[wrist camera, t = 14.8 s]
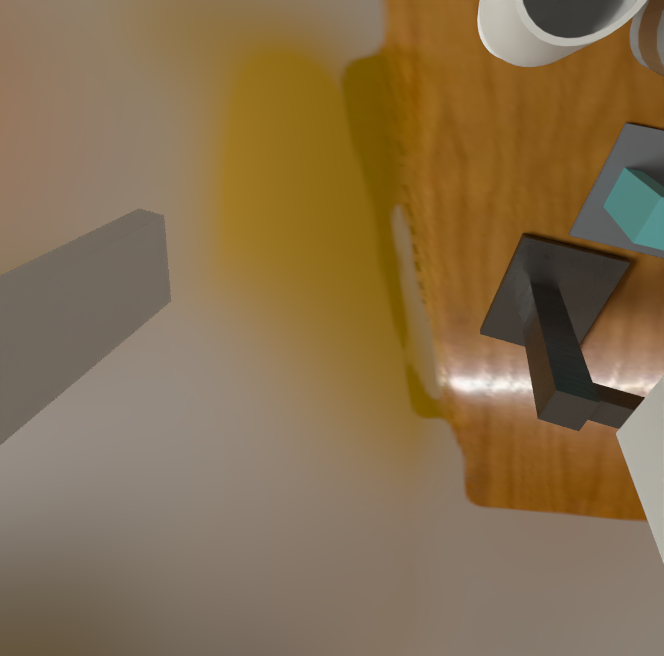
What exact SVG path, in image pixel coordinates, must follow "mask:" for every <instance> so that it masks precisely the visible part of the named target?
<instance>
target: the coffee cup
mask: <svg viewBox="0 0 664 656" xmlns="http://www.w3.org/2000/svg"><path fill="white" fill-rule="evenodd" d="M630 46H631V49H632V52H633V55H634V56H635V58H636V59H637V60H638V61H639V63H640V64H642V65H644V66H645V67H647V68H649V69H651V70H653V71H655V72H656V73H658V74H659V75H662V76H664V0H647V1H646V2H645V4H644V5H643V6H642V7H641V8H640V10H639V11H638V12H637V13H636V14H635V15H634V17H633V20H632V25H631V29H630Z"/></svg>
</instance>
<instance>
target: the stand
mask: <svg viewBox="0 0 664 656" xmlns="http://www.w3.org/2000/svg"><path fill="white" fill-rule="evenodd" d="M629 265H630V262H629V260H628V259H626V258H622V257H618V256H613V255H609V254H605V253H601V252H597V251H593V250H589V249H585V248H581V247H577V246H573V245H569V244H564V243H560V242H556V241H552V240H548V239H544V238H540V237H536V236H532V235H528V234H524V233H523V234H522V236H521V239H520V241H519V243H518V245H517V248H516V250H515V252H514V254H513V257H512V259H511V261H510V263H509V266H508V268H507V270H506V272H505V275H504V277H503V279H502V281H501V284H500V286H499V288H498V290H497V293H496V295H495V297H494V299H493V302H492V304H491V306H490V308H489V311H488V313H487V315H486V317H485V320H484V322H483V324H482V326H481V329H480V334H482V335H486V336H489V337H493V338H496V339H500V340H504V341H507V342H511V343H514V344H518V345H522V346H525V348H526V353H527V359H528V365H529V371H530V376H531V382H532V388H533V393H534V399H535V405H536V411H537V416H538V419H540V420H544V421H547V422H550V423H554V424H557V425H560V426H563V427H567V428H570V429H573V430H577V431H579V430H580V429H581V428H582V426H583V425H584V424H585V422H586V421H587V420H591V421H594V422H598V423H601V424H604V425H608V426H611V427H615V428H618V429H620V428H621V427H622V425H623V424H624V423H625V422H626V421H627V419H628V418H629V417H630V416H631V415H632V413H633V412H634V411H635V410H636V408H637V407H638V406H639V405H640V404H641V402H642V401H643V400H644V399H645V397H641V396H638V395H634V394H631V393H627V392H624V391H620V390H617V389H613V388H610V387H606V386H603V385H599V384H596V383H593V382H592V379H591V377H590V374H589V371H588V368H587V365H586V363H585V360H584V357H583V354H582V351H581V349H580V346H579V344H580V343H581V341H582V339H583V338H584V336H585V335H586V333H587V331H588V330H589V328H590V327H591V325H592V324H593V322H594V320H595V319H596V317H597V316H598V314H599V312H600V311H601V309H602V308H603V306H604V305H605V303H606V301H607V300H608V298H609V297H610V295H611V293H612V292H613V290H614V289H615V287H616V285H617V284H618V282H619V281H620V279H621V278H622V276H623V274H624V273H625V271H626V270H627V268H628V266H629Z"/></svg>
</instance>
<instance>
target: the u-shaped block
mask: <svg viewBox="0 0 664 656" xmlns="http://www.w3.org/2000/svg"><path fill="white" fill-rule="evenodd" d="M603 207H604V208H605V209H606V210H607V212H608V213H609V214H610V215H611V216H612V218H613V219H614V220H615V221H616V223H617V224H618V225H619V226H620V228H621V229H622V230H623V231H624V232H625V234H626V235H627V236H628V237H629V239H630V240H631V241H632V242H633V243H635V244H639V245H644V246H648V247H652V248H656V249H660V250H664V187H663V186H662V185H660V184H659V183H658V182H656V181H655V180H654V179H652V178H651V177H650V176H648V175H647V174H645V173H644V172H643V171H639V170H634V169H629V168H625V167H624V169H623V171H622V173H621V175H620V176H619V178H618V180H617V182H616V184H615V186H614V188H613V189H612V191H611V193H610V195H609V197H608V199H607V200H606V202H605V204H604V206H603Z"/></svg>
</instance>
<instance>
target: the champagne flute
mask: <svg viewBox="0 0 664 656" xmlns="http://www.w3.org/2000/svg"><path fill="white" fill-rule="evenodd" d="M646 1H647V0H480V2H479V9H478V19H477V20H478V31H479V34H480V38H481V40H482V42H483V44H484V46H485V47H486V48H487V49H488V51H489V52H491V53H492V54H493V55H495V56H496V57H498V58H501V59H503V60H504V61H506V62H509V63H511V64H513V65H517V66H523V67H537V66H542V65H546V64H550V63H553V62H555V61H557V60H559V59H561V58H563V57H566V56H568V55H569V54H571V53H573V52H575V51H577V50H579V49H581V48H583V47H585V46H587V45H589V44H591V43H593V42H595V41H597V40H599V39H601V38H603V37H605V36H607V35H609V34H610V33H612V32H613V31H615V30H616V29H618V28H619V27H621V26H622V25H624V24H625V23H626V22H627V21H628V20H629V19H630V18H631V17H633V16H634V15H635V14H636V13H637V12H638V11H639V10H640V8H641V7H642V6H643V5H644V4H645V2H646Z"/></svg>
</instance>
